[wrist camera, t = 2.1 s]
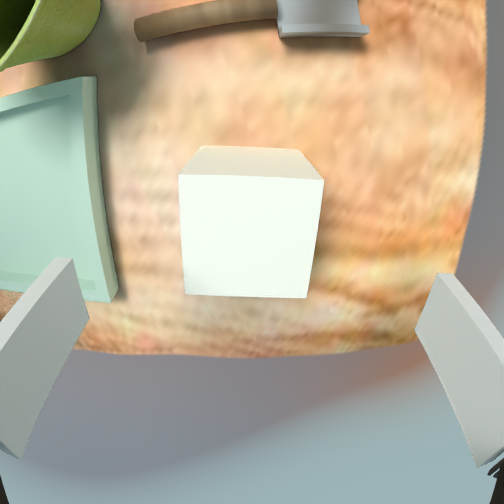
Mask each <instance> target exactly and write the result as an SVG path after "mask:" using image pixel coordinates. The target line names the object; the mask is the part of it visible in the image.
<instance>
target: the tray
mask: <svg viewBox="0 0 504 504" xmlns="http://www.w3.org/2000/svg"><path fill="white" fill-rule="evenodd" d="M56 257H63V258H73V262H74V266H75V270H76V274H77V277H78V281H79V285H80V288H81V292H82V295H83V299H84V300H87V301H97V302H107V303H111V302H112V300H113V298H114V296H115V294H116V293H117V291H118V289H119V285H118V280H117V275H116V270H115V265H114V260H113V254H112V249H111V243H110V237H109V231H108V224H107V217H106V210H105V202H104V194H103V186H102V176H101V165H100V153H99V138H98V117H97V77H78V78H73V79H68V80H63V81H59V82H55V83H50V84H46V85H43V86H39V87H35V88H31V89H28V90H24V91H21V92H18V93H14V94H11V95H8V96H5V97H2V98H0V289H3V290H9V291H16V292H23V293H24V292H25V291H26V290H27V289H28V288H29V287H30V285H31V284H32V283H33V282H34V281H35V280H36V279H37V278H38V276H39V275H40V274H41V273H42V272H43V271H44V270H45V269H46V268H47V266H48V265H49V264H50V263H51V262H52V261H53V260H54V259H55V258H56Z"/></svg>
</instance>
